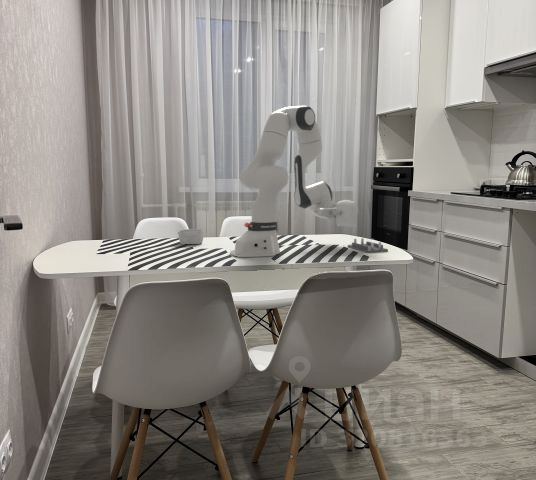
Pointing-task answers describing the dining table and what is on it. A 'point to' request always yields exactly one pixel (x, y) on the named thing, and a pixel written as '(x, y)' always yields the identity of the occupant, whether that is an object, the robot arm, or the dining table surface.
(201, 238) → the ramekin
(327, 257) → the dining table surface
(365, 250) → the dock
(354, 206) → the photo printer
